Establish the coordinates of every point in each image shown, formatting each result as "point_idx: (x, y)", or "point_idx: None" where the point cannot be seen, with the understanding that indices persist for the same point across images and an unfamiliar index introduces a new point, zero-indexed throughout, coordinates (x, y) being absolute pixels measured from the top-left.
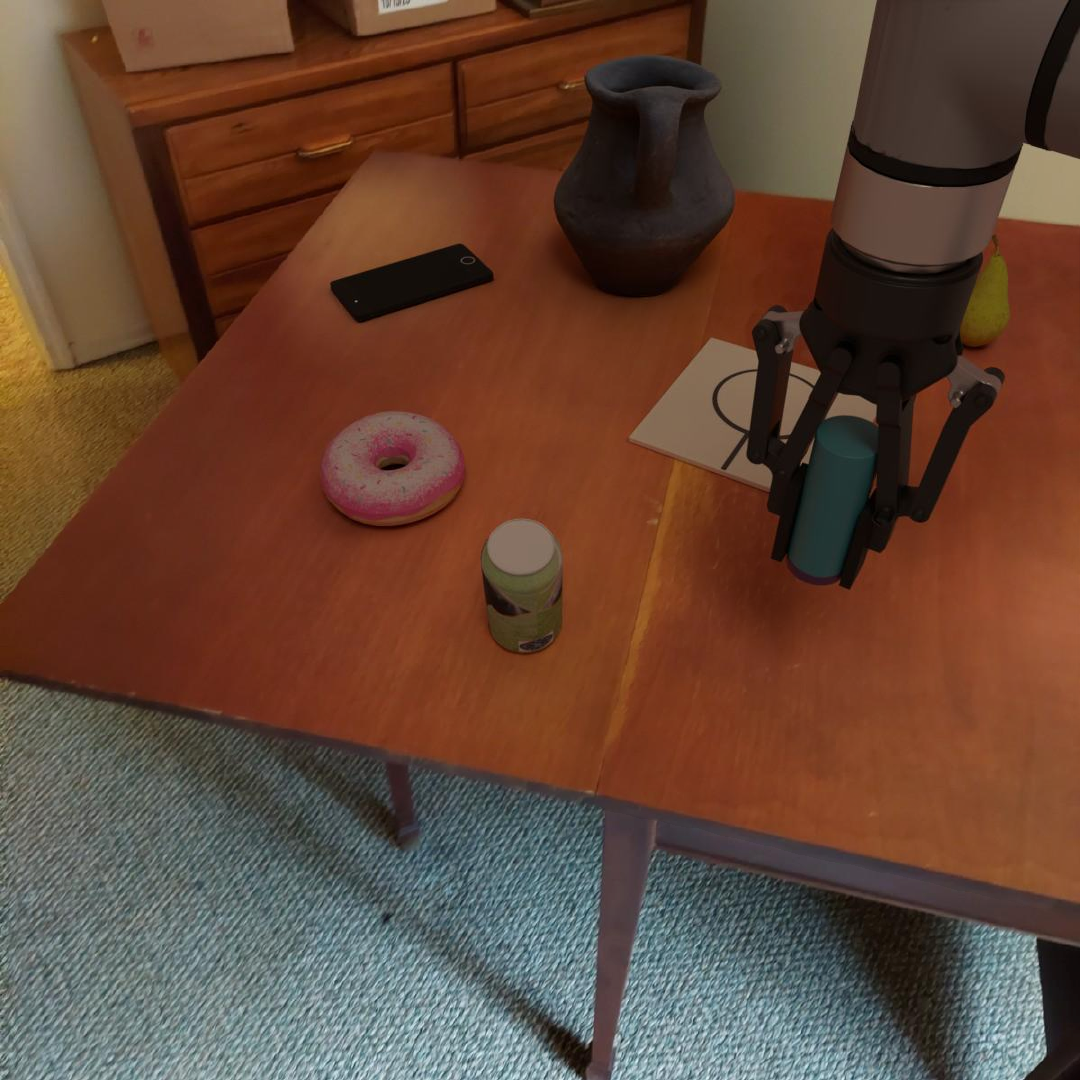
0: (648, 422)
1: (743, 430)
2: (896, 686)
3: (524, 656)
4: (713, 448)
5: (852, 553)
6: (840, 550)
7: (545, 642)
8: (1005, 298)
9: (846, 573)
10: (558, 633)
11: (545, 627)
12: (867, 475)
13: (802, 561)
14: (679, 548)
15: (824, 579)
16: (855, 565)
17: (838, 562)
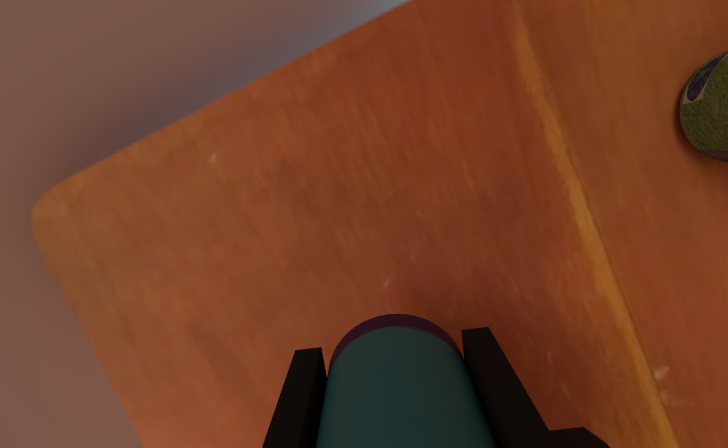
0: None
1: None
2: (279, 328)
3: (697, 66)
4: None
5: (293, 425)
6: (328, 416)
7: (692, 87)
8: None
9: (306, 374)
10: (681, 119)
11: (724, 77)
12: None
13: (412, 343)
14: (605, 354)
15: (350, 339)
16: (282, 400)
17: (331, 388)
